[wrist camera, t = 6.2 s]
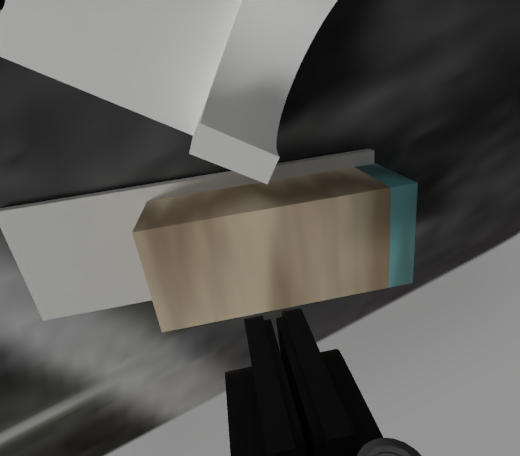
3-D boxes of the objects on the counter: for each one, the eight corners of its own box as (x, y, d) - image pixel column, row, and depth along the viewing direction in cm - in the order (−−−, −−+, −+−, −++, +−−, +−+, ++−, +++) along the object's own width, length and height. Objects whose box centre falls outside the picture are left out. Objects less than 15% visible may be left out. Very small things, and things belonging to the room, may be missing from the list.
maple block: (147, 201, 18) (375, 163, 19) (169, 285, 20) (375, 247, 21) (132, 232, 14) (417, 182, 15) (161, 332, 16) (412, 282, 17)
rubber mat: (369, 148, 19) (374, 150, 18) (369, 253, 21) (374, 258, 21) (0, 208, 17) (-7, 212, 17) (47, 314, 20) (43, 320, 19)
